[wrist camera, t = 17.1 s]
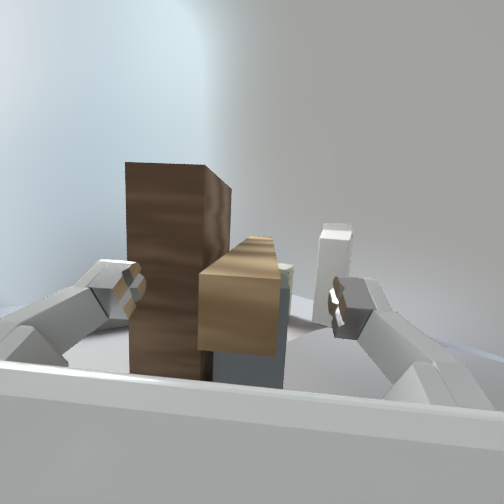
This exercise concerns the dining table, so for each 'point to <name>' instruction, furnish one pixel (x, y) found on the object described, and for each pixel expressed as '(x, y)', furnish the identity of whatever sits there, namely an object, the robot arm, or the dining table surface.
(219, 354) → the grey block
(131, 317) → the walnut stand
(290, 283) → the skincare box
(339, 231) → the milk
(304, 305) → the dining table surface
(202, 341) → the oak rod
